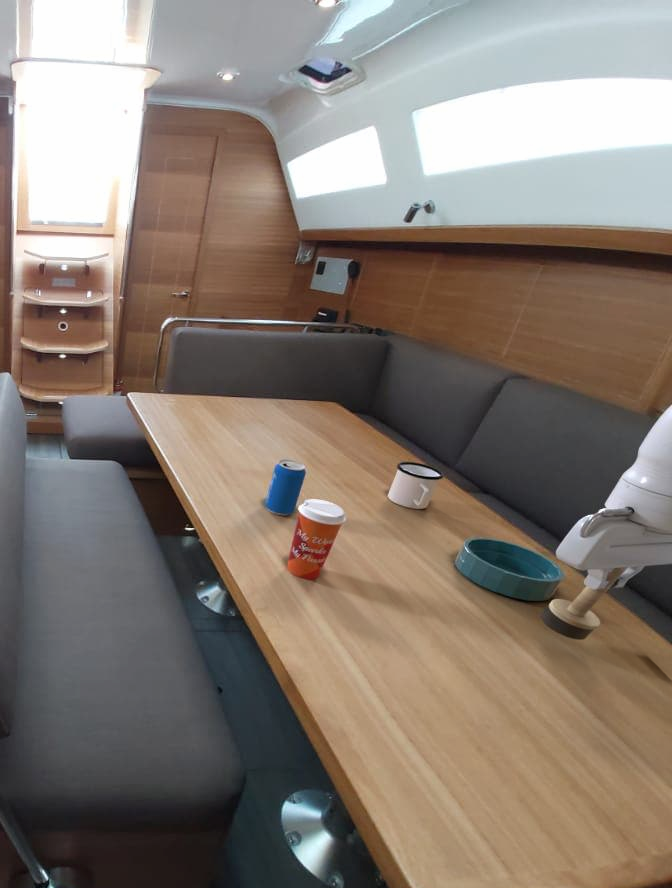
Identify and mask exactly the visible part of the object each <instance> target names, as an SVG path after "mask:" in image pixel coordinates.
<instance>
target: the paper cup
mask: <svg viewBox="0 0 672 888" xmlns="http://www.w3.org/2000/svg"><path fill="white" fill-rule="evenodd" d="M297 510H298V516H297V521H296V525H295V530H294V534H293V537H292V542H291V546H290V547H291V548H290V551H289V555H288V560H287V564H286V565H287V567H286V568H287V570H288V571H289V573H291V574H292V575H294V576H296V577H297V578H300V579H305V580H316V579H318V577H319V575H320V574H321V571H322V570H323V567H324V565H325V563H326V560H327V558H328V556H329V554H330V552H331V550H332V547H333V544H334V542H335V541H336V538H337V536H338V534H339V532H340V529H341V526H342V525H343V524H344V523H345V522H347V517H346V513H345V511H344V510H343V508H342V507H340V506H339V505H337V504H335V503H333V502H331V501H328V500H324V499H318V498H317V499H315V498H309V499H305V500H304V501H303V502H302V504H300V505H299V506H298V509H297Z"/></svg>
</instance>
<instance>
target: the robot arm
mask: <svg viewBox="0 0 672 888" xmlns="http://www.w3.org/2000/svg"><path fill="white" fill-rule="evenodd" d="M555 556H556V558H557V560H559V561H560V562H562V563H564V564H566V565H568V566H570V567H572V568H574V569H575V570H578V571H587V576H586V577H585V579H584V580H583V584H584V586H585V587H586V586H588V587H590V588H592V589H594V590H597V589H604V588H605V587H606V585H607V584H608V583H609V581H610V580H608V579H607V575H608V572H612V571H613V569H614V568H622V567H628V568H627V569H626V570H625V571H624V573H623V574H622V575H621V576H620V577H619V578H618V579H617V580H616V581H615V582H614V584H613V585H612V586H611V587H610V589H619V588H624V586H625V585H626V583H627V582H628V581H629V580H630V579H631V578H633V577H634V576H636V575H637V574H639V573H640V572H641V571H643V569H644V568H645V567H649V566H661V565H672V404H671V405H670V406H669V407H667V408H666V410H665V411H663V413H662V414H661V415H660V417H659V418H658V419H657V421H656V422H655V423H654V424H653V426H652V427H651V429H650V430H649V431H648V433H647V435H646V436H645V437H644V439H643V440H642V442H641V444H640V446H639V447H638V451H637V457H636V458H635V461H634V462H633V464H632V465H631V466H630V467H629V468H628V469H627V470H626V471H624V472H623V473H622V475H621V477H620V478H619V479H618V481H617V483H616V485H615V486H614V487H613V489H612V491H611V493H610V494H609V496H608V497H607V499H606V501H605V503H604V508H602V509H601V508H600V509H599V510H598V511H597V512H596V513H593V514H588V515H586V516H583V517H582V518H581V519H579V520H578V521H577V522H575V524H574V525H573V526H572V528H571V529H570V530H569V531H568V533H567V534H566V535H565V537H564V538H563V539H562V540H561V542H560V544H559V545H558V546H557V549H556V550H555Z"/></svg>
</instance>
